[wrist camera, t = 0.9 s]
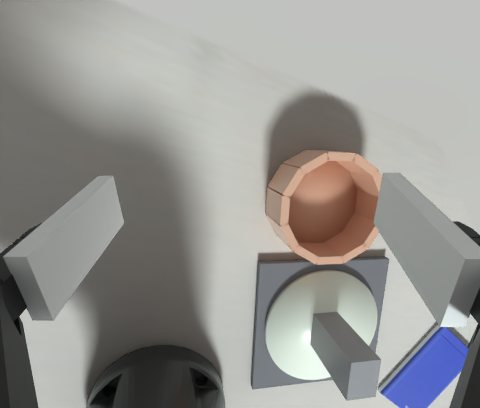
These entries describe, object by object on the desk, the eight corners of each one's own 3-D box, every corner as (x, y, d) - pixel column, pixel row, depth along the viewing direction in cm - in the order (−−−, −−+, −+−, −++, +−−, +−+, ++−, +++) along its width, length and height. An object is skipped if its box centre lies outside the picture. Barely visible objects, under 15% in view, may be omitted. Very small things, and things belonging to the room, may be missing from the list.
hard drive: (417, 421, 44) (477, 356, 44) (382, 395, 42) (445, 326, 41) (409, 412, 46) (467, 349, 45) (375, 386, 43) (436, 319, 43)
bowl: (352, 245, 37) (379, 262, 32) (263, 248, 35) (277, 266, 30) (364, 151, 35) (394, 154, 30) (269, 148, 33) (285, 150, 28)
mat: (368, 370, 42) (372, 374, 41) (251, 384, 38) (252, 389, 38) (384, 256, 38) (389, 259, 38) (258, 261, 35) (259, 264, 34)
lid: (366, 369, 40) (417, 432, 32) (261, 381, 38) (286, 453, 29) (380, 267, 38) (441, 306, 29) (268, 272, 35) (298, 317, 26)
